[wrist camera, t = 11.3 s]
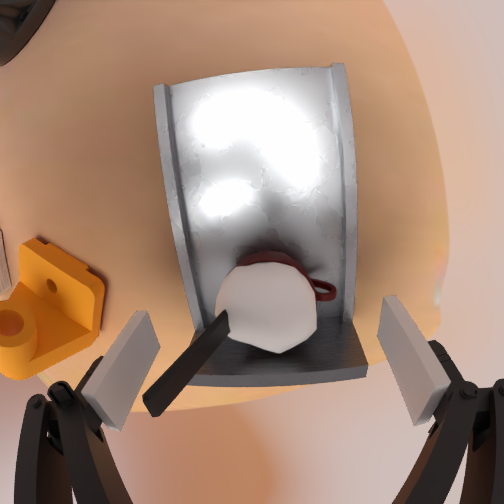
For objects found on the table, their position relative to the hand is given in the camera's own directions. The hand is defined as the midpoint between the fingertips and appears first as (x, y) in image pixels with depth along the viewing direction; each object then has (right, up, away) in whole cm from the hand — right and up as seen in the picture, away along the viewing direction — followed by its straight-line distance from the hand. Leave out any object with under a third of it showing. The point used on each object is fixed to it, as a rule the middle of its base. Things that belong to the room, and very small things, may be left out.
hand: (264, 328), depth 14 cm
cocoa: (0, +2, +6) cm, 7 cm away
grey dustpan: (0, +7, +5) cm, 9 cm away
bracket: (-20, +1, +10) cm, 22 cm away
